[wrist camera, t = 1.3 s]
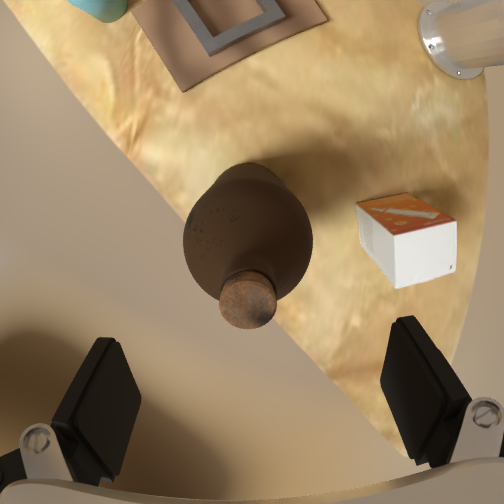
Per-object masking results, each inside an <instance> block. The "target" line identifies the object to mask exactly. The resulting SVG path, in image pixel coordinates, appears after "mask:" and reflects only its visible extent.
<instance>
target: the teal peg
mask: <svg viewBox="0 0 504 504" xmlns="http://www.w3.org/2000/svg"><path fill="white" fill-rule="evenodd" d="M67 1H68V2H69V3H71V4H72V5H74V6H76V7H78V8H80V9H81V10H83V11H85V12H87V13H88V14H90V15H92V16H93V17H95V18H97V19H98V20H100V21H102V22H104V23H111V22H114V21H116V20H118V19H119V18H121V17H122V16H123V14H124V13H125V12H126V9H127V6H128V3H127V0H67Z"/></svg>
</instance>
